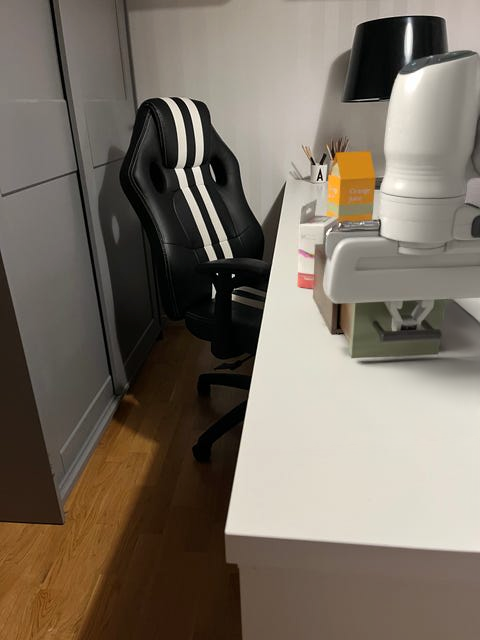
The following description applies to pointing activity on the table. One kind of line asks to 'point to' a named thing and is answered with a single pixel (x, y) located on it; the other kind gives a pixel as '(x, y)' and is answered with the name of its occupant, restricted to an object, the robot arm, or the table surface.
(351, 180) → the orange juice
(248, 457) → the table surface
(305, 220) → the ink cartridge box
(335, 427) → the table surface
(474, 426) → the table surface
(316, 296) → the cabinet
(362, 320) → the drawer
